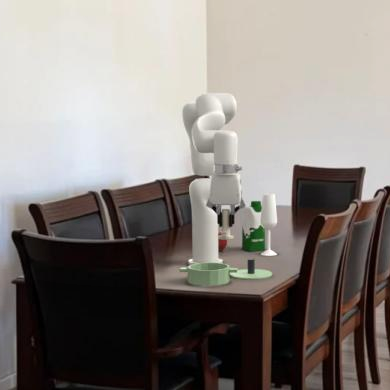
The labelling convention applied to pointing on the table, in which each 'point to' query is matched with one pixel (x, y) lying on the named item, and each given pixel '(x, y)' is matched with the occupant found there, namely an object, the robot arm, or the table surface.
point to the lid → (251, 272)
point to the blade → (225, 225)
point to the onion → (221, 243)
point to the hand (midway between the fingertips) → (225, 226)
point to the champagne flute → (268, 218)
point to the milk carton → (252, 227)
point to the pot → (208, 273)
